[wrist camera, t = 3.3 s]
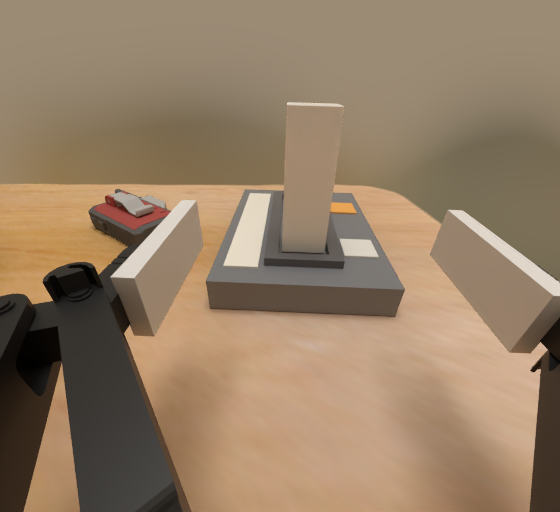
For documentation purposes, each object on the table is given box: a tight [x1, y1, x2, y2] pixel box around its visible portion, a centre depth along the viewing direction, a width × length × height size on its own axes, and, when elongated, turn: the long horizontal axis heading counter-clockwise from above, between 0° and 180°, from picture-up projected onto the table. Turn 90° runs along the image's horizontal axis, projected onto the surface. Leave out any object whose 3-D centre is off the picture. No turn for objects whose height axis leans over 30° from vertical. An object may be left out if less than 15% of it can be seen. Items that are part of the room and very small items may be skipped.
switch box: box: [206, 189, 405, 316], centre depth 31 cm, size 16×22×4 cm
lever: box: [282, 102, 345, 253], centre depth 23 cm, size 4×3×12 cm
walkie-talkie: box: [88, 189, 171, 247], centre depth 36 cm, size 9×4×20 cm
